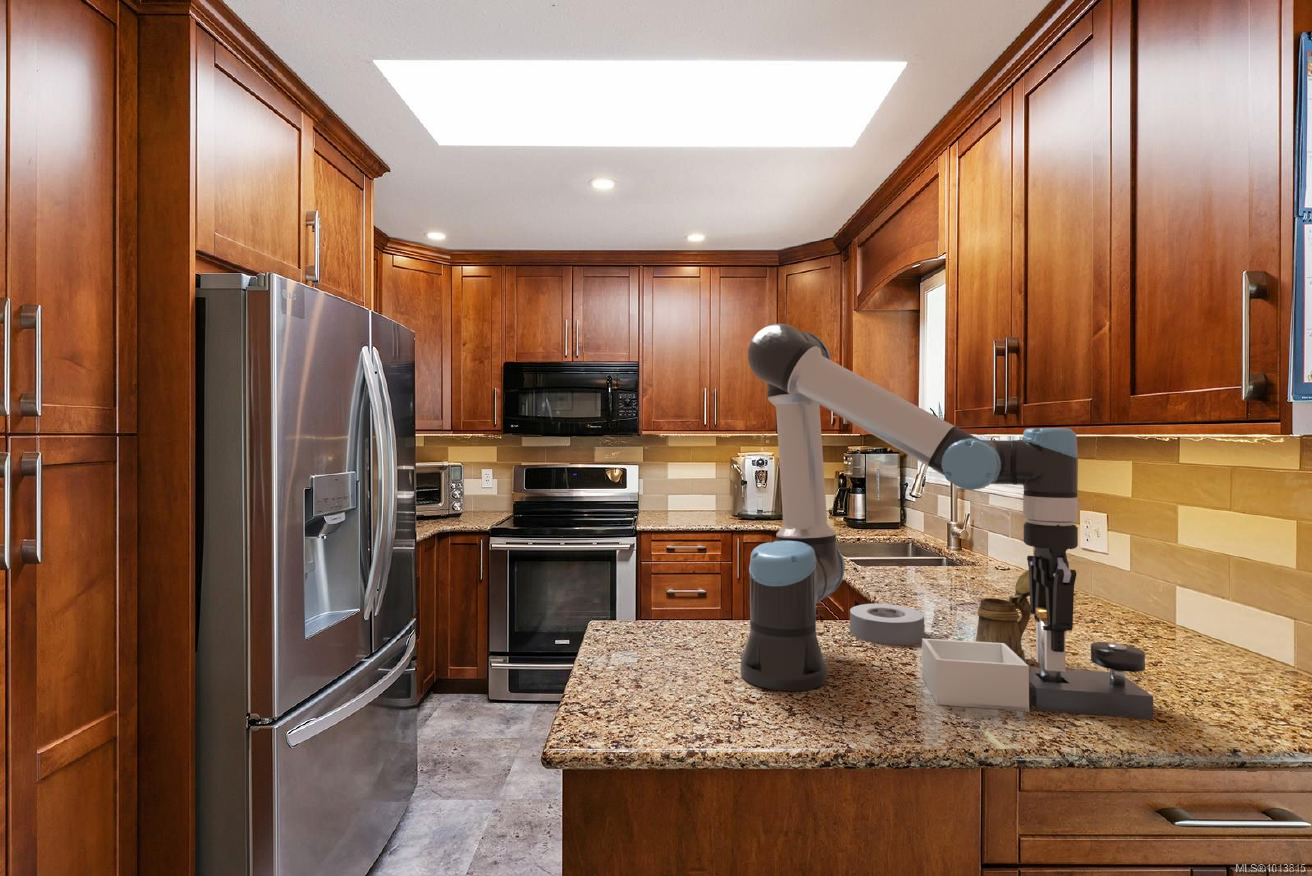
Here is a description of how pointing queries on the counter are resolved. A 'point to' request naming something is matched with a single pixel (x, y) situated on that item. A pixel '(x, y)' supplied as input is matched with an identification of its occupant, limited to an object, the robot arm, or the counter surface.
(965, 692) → the parts bin
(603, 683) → the counter surface
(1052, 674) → the pin
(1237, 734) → the counter surface
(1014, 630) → the wooden mug
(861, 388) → the robot arm
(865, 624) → the tape roll
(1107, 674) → the block
